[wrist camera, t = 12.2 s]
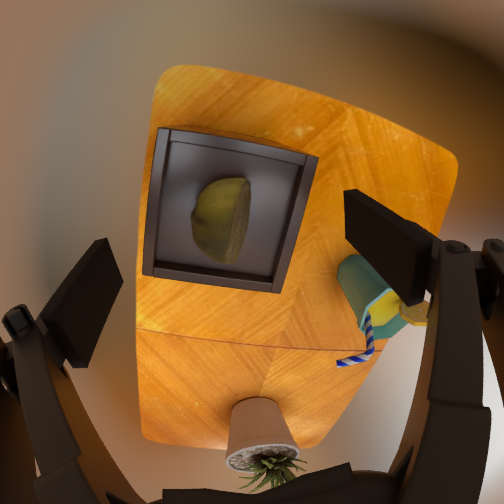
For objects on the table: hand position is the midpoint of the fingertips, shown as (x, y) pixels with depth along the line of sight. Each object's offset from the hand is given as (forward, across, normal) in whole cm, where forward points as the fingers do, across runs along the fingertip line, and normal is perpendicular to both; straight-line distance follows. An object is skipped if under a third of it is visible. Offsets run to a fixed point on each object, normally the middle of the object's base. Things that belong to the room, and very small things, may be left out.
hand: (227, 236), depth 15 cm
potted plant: (+19, -3, -44) cm, 47 cm away
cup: (+19, +14, -17) cm, 29 cm away
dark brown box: (+19, 0, -1) cm, 19 cm away
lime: (+5, 0, 0) cm, 5 cm away
